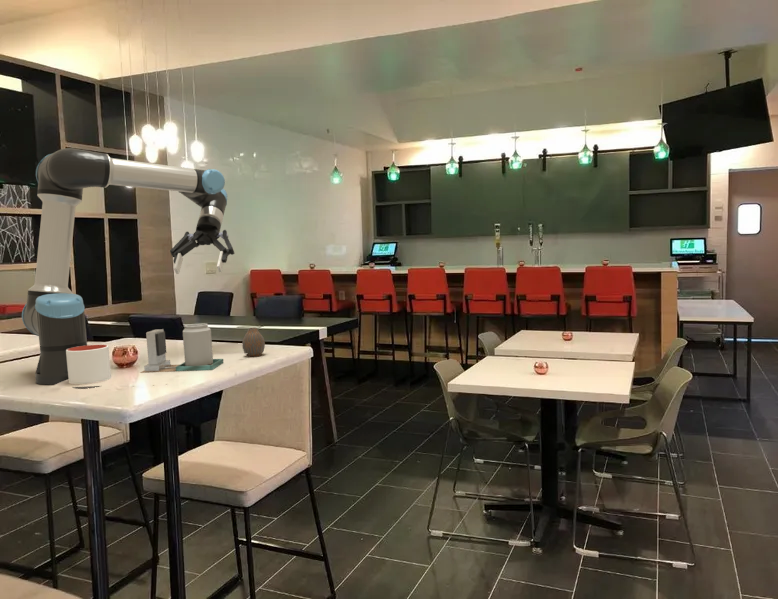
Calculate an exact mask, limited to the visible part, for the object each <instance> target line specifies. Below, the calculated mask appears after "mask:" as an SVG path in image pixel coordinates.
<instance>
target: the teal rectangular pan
mask: <svg viewBox="0 0 778 599" xmlns="http://www.w3.org/2000/svg"><path fill="white" fill-rule="evenodd" d="M223 364H224V358H213V363H212V364H211V365H205V366H185V361H184V362H182V363H180V364H170V366H169V367H165V368H164V369H163V370H161V371H153V372H152V373H170V372H171V373H172V372H173V373H175V372H197V371H198V372H199V371H213V370H215V369H216V368H218V367H220V366H221V365H223ZM139 373H140V374H145V373H151V372H145V369H144V370H143V371H140V372H139Z"/></svg>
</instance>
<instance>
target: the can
mask: <svg viewBox="0 0 778 599" xmlns="http://www.w3.org/2000/svg"><path fill="white" fill-rule="evenodd" d="M208 325H209V323H207V322H206V323H205V322H204V323H202V322H201V323H191V324H185V325H184V328H183V330H182V340H183V341H182V342H183V343H182V344H183V355H184V362H185V366H205V365H211V364H212V363H213V359H214V357H213V356H214V354H213V345H212V344H213V342H212V341H213V340H212V330H211V328H210V327H209V326H208Z"/></svg>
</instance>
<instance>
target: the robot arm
mask: <svg viewBox="0 0 778 599" xmlns="http://www.w3.org/2000/svg"><path fill="white" fill-rule="evenodd" d="M35 178H36V181H37V195H36V196H37V198H38V199H40V200H41V202H42V204H41V214H40V215H41V216H40V225H39V226H40V228H39V236H38V247H37V256H36V257H37V258H36V268H35V278H34V284H33V285H32V286H30V288H28V289H27V296H26V303H25V305H24V307H23V308H22V312H21V320H22V323H23V325H24V327H25V328H26V329H27V330H28V331H29V332H30V333H31V334H33V335H34V336H37V337H38V342H39V358H38V362H37V367H36V370H35V374H34V378H35V379H34V380H35V383H36V384H40V385H56V384H60V383H62V382H65V381H67V380H68V381H69V379H68V368H67V357H66V350H67V349H69V348H73V347H79V346H87V345H88V340H87V326H86V316H85V315H86V314H85V309H86V308H85V304H84V300H83V297H82V296H81V295H79V294H76V293H73V291H72V290H71V289H70V288H69V277H70V268H71V257H72V247H73V246H72V245H73V237H74V227H75V217H76V207H77V206H78V205H80V204H81V203H82V201H83V194H84V189H86V188H87V189H88V188H104V189H105V188H107V187H108V186H109V185H110V186H120V187H130V188H142V189H153V190H162V191H171V192H178V193H180V194H181V195H183V196H184V197H186V198H187V199H188V200H190V201H192V202H193V203H195V204H196V206H198V207H200V208H201V209H200V213H199V217H198V220H197V223H196V227H195V232H193V233H190V232H189V231H185V232H184V235H183V237H182V238H180V239H179V240H178V241H177V242H176V244H175V245H174V246H173V247H172V248H171V249H169V250H170V251H169V252H170V255H171V256H172V258H173V264H174V266H173V270H174V272H175V274H176V275H179V274H180V272H181V271H180V270H181V268H182V264H183V260H184V258H183V257H184V256H186V255H187V254H188V253H189V252H191V251H192V250H193V249H195V248H198V247H199V246H205V245H206V246H211V245H213V246H214V247H215V248H217V250H219V256H218V260H217V264H216V268H217V270H218V272H219V273H222V271H223V266H224V264H226V263H227V261H228V257H229V255H232V256H233V255H235V250H234V248H233V246H232V244H231V241H230V239H229V234H228V231H227V229H223V230H222V231H221V228H222V224H223V219H224V214H225V210H226V207H227V205H228V193H227V191H226V190H225V189H224V187H225V185H226V183H225V182H226V181H225V180H226V179H225V176H224V175H223V173H222V172H221V171H219V170H218V169H216V168H215V169H214V168H212V169H211V168H208V169H197V168H190V167H183V166H174V165H166V164H160V163H159V164H158V163H151V162H145V161H136V160H128V159H121V158H113V157H110V156H109V154H108V153H103V152H95V151H90V150H85V149H80V148H71V147H70V148H69V147H68V148H61V149H58V150H57V151H56V150H55V151H54V152H53V153H49V154H47V155H46V156H44V157H43V158H42V159H41V160H40V161H39V163H37V166H36V169H35ZM219 238H220V239H222V240H224V243H225V245H224V244H222V243H221V241H219V240H218V239H219ZM225 246H227V247H225Z"/></svg>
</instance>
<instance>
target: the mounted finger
mask: <svg viewBox="0 0 778 599" xmlns="http://www.w3.org/2000/svg"><path fill="white" fill-rule="evenodd" d="M145 334H146V335H145V336H146V346H147V347H146V348H147V358H148V359H147V361H148V364H146V365H144V370H145V372H150V373H154V372H153V371H161V370H163V369H164V368H165V367H169V366H170V365H171V360H170V359H167V358H166V353H167V344H166V331H165V330H164V328H162V329H152V330H150V331H147V332H146V333H145Z"/></svg>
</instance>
